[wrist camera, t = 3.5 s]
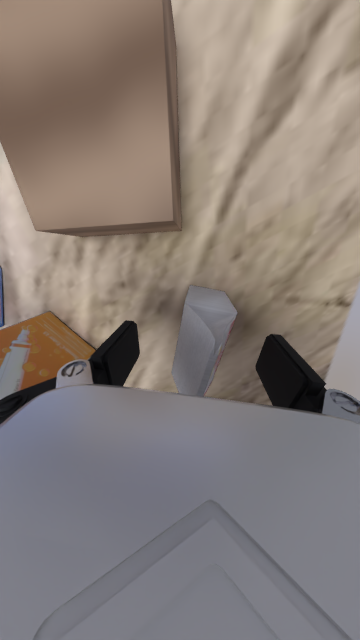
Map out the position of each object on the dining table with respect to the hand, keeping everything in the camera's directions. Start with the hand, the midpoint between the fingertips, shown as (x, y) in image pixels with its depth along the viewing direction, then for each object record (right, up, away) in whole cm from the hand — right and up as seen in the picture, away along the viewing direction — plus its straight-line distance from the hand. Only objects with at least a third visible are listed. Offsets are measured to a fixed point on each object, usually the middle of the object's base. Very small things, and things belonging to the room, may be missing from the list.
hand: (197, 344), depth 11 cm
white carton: (+1, +2, +6) cm, 7 cm away
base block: (-6, +15, +1) cm, 16 cm away
